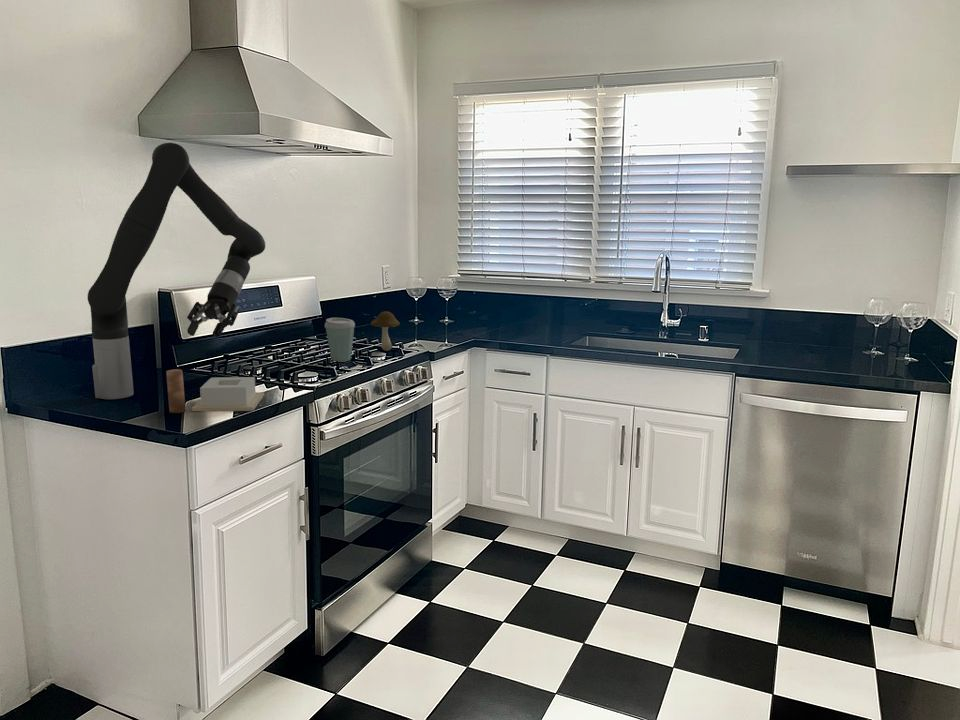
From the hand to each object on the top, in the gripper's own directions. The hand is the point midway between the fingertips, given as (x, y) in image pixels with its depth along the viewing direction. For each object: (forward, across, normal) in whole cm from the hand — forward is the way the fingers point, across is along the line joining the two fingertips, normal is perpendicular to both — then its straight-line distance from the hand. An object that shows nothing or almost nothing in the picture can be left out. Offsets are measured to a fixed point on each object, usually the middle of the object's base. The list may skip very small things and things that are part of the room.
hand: (202, 335), depth 209 cm
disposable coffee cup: (-28, +8, +56) cm, 63 cm away
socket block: (+14, +8, +13) cm, 20 cm away
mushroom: (-44, +14, +72) cm, 86 cm away
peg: (+22, 0, +5) cm, 22 cm away
